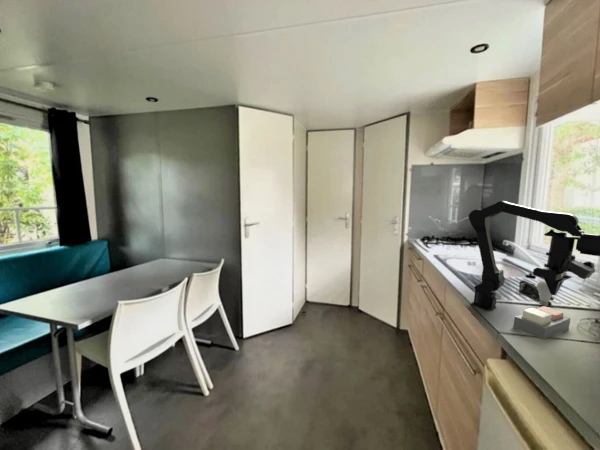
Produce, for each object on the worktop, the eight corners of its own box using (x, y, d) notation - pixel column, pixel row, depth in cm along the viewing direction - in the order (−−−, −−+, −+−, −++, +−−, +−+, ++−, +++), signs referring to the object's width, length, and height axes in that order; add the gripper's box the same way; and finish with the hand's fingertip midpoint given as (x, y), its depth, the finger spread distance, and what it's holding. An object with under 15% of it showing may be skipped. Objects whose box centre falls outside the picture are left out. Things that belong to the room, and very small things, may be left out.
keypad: (513, 327, 96) (514, 316, 96) (538, 317, 104) (540, 307, 104) (543, 340, 89) (545, 328, 88) (568, 329, 97) (570, 318, 96)
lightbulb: (550, 310, 111) (555, 284, 109) (531, 304, 116) (535, 279, 114) (555, 307, 114) (560, 281, 112) (536, 301, 119) (541, 277, 117)
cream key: (521, 322, 95) (523, 310, 95) (530, 319, 98) (532, 307, 97) (541, 330, 90) (543, 317, 90) (549, 326, 93) (552, 314, 92)
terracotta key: (534, 320, 99) (536, 308, 99) (542, 317, 102) (543, 305, 101) (553, 327, 94) (555, 315, 94) (561, 324, 97) (563, 312, 96)
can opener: (513, 289, 134) (515, 278, 133) (529, 290, 133) (531, 279, 132) (541, 305, 116) (543, 292, 115) (559, 306, 115) (562, 293, 115)
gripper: (580, 259, 83) (571, 309, 85) (605, 254, 91) (596, 299, 94) (535, 250, 93) (528, 295, 95) (562, 246, 101) (555, 287, 103)
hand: (553, 294), depth 97 cm, fingers closed
